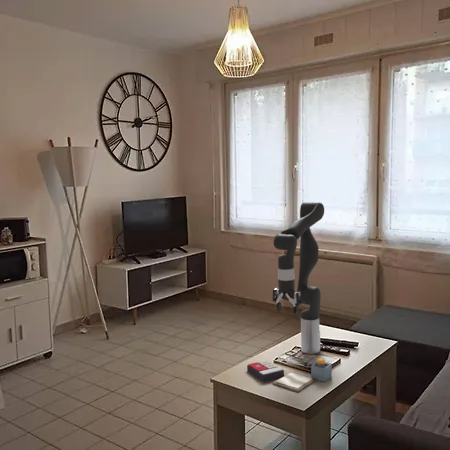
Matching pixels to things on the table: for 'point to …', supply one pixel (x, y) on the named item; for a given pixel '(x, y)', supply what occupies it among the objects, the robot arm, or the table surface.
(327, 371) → the pen cup
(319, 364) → the marker
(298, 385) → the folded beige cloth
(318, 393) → the table surface
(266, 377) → the dark grey box
